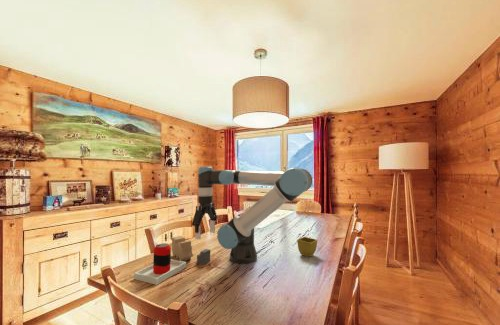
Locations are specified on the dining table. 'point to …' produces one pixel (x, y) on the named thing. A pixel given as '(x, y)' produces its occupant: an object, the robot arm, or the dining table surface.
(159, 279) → the tray
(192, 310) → the dining table surface
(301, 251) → the flower pot
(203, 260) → the dark grey block
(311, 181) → the robot arm
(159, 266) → the soda can
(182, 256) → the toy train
